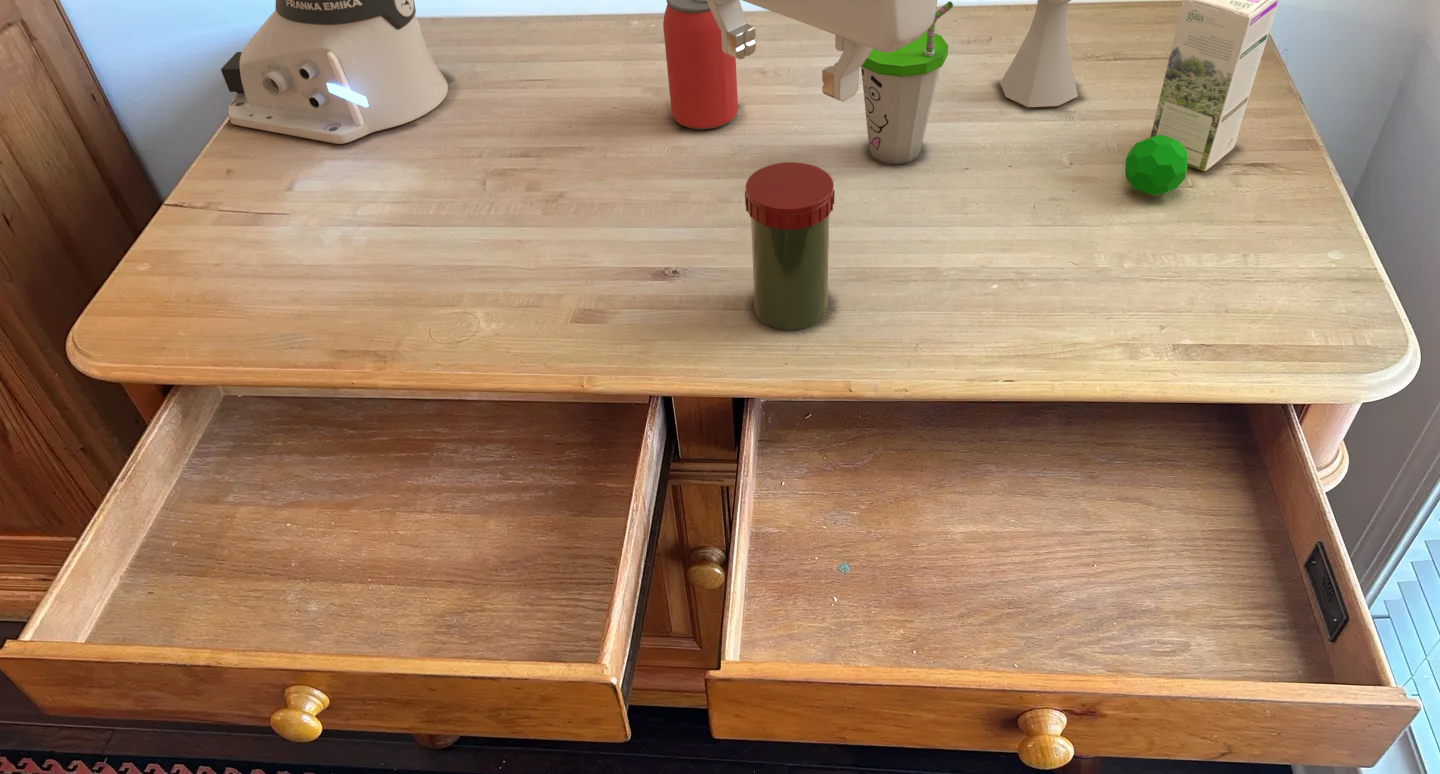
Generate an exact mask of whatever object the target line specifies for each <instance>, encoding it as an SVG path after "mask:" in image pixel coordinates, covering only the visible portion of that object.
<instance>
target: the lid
mask: <svg viewBox="0 0 1440 774" xmlns="http://www.w3.org/2000/svg"><path fill="white" fill-rule="evenodd" d="M744 203H745V211H746V212H747V213H748V215H749V217H750V218H751V217H752V218H753V219H754V220H755V221H757V222H758V223H760V224H762V225H765V226H767V227H771V228H776V229H786V230H790V229H801V228H806V227H809V226H812V225H815V224H817V223H819V222H821V221H823V220H824V219H825V218H826V217H828V216H829V217H830V214H831V212H832V211H834V205H835V189H834V181H833V178H832V176H831V175H830V174H829V173H828V172H827V171H826V170H824V169H822V168H821V167H818V166H816V165H812V164H810V163H805V162H795V161H794V162H793V161H787V162H779V163H773V164H769V165H766V166H764V167H761V168H759V169H757V170H756V171H755V172H753V173H752V174H751V175H750V176H749V177H748V179H747V180H746V183H745V190H744Z"/></svg>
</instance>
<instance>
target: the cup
mask: <svg viewBox="0 0 1440 774" xmlns="http://www.w3.org/2000/svg"><path fill="white" fill-rule="evenodd" d="M953 8H954V3H953V2H952V1H951V0H950V1H948V2H946V3H945V4H944V5H943V6H941V7H940V8H938V10H936V14H935V19H934V21H933V23H932V25H931V26H930V28H929V29H928V30H927V31H926V32H925V33H924V34H923V35H922V36H921V37H920V38H918V39H917V40H915V41H913V42H911V43H910V44H908V45H906V46H904V47H902V48H900V49H898V50H896V51H893V52H890V53H884V52H881V51H878V50H876V49H872V51H871V53H870V54H869V56H868V57H867V59H866V60H865V62H864V63H863V65H862V66H861V67H860V70H861V71H860V72H861V80H862V90H863V98H864V99H863V100H864V109H865V110H864V111H865V120H866V128H867V138H868V140H867V141H868V148H869V153H870V155H871V157H872V159H874V160H876V161H877V162H879V163H881V164H885V165H892V166H898V165H907V164H910V163H911V162H913V161H916V160H918V157H919V156H920V154H921V150H922V145H923V142H924V139H925V134H926V130H927V124H928V120H929V116H930V113H931V107H932V103H933V100H934V96H935V91H936V87H937V82H938V78H939V74H940V69H941V68H942V67H943V66H944V64H945V62H946V60H947V58H948V53H949V45H948V43H947V41H946V40H945V38H943V36H942V35H940V34H938V33H936V31H935V30H936V23H937V20H938V19H940V18H941V17H943V16H944V15H945V14H947V13H948V12H949V11H951V9H953Z"/></svg>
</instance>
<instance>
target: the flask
mask: <svg viewBox="0 0 1440 774" xmlns="http://www.w3.org/2000/svg"><path fill="white" fill-rule="evenodd" d="M1071 1H1072V0H1037V3H1036V9H1035V13H1034V16H1033V19H1032V21H1031V25H1030V28H1029V30H1028V32H1027V33H1026V36H1025V37H1024V39H1023V42H1022V43H1021V45H1020V46H1019V49H1018V51H1017V53H1016V54H1015V56H1014V58H1013V60H1012V61H1011V63H1010V65H1009V67H1008V69H1006V72H1005V73H1004V75H1003V77H1002V78H1001V80H1000V83H999V84H1000V87H1001V89H1002V91H1003V94H1004V97H1005V98H1007V99H1009V100H1012V101H1014V102H1016V103H1018V104H1020V105H1022V106H1025V107H1026V108H1039V107H1042V108H1043V107H1059V106H1061V105H1064V104H1065V103H1068V102H1069V101H1071V100H1073V99H1076V98H1078V97H1079V94H1078V89H1077V84H1076V79H1075V75H1074V69H1073V66H1072V60H1071V55H1070V54H1071V53H1070V49H1069V43H1068V37H1067V12H1068V5H1069V3H1070V2H1071Z"/></svg>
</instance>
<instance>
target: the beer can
mask: <svg viewBox="0 0 1440 774" xmlns="http://www.w3.org/2000/svg"><path fill="white" fill-rule="evenodd" d="M666 3H667V4H666V6H665V10H664V16H663V22H662V27H663V37H664V47H665V58H666V69H667V79H668V90H669V100H670V110H671V115H672V117H673V119H674V121H675V122H677V123H678V124H680V126H682V127H686V128H689V129H693V130H711V129H718V128H720V127H722V126H725V125H727V124H728V123H730V122H731V121H733V119H734V118H735V117H736V115H737V114H738V112H739V98H738V78H737V76H738V75H737V58H735V57H733V56H730V55H728V54H725V53H724V52H723V51H722V38H721V29H719V27H718V24H717V22H716V20H715V18H714V16H713V14H712V12H711V10H710V7H709V5H708V3H707V1H706V0H666Z"/></svg>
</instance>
